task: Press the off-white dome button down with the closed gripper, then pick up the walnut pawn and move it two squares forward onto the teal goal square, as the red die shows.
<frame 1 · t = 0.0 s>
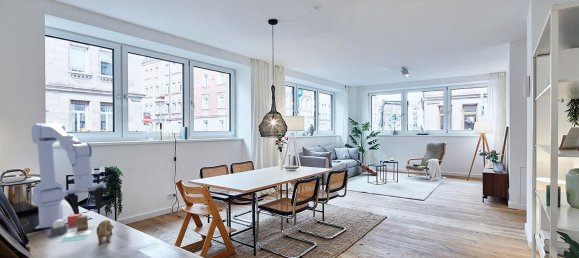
hand: (88, 211, 114), 11 cm above the kitchen counter, tool pointing down, fingers open, 7 cm apart
game track: (78, 233, 119), on the kitchen counter
dome cap: (58, 224, 120), point 4 cm above the kitchen counter, slide at 0.0 cm
lion figurine: (106, 241, 112), on the kitchen counter
dome housing: (59, 233, 120), on the kitchen counter
red die: (75, 224, 130), on the kitchen counter
walnut pawn: (82, 229, 124), resting on game track
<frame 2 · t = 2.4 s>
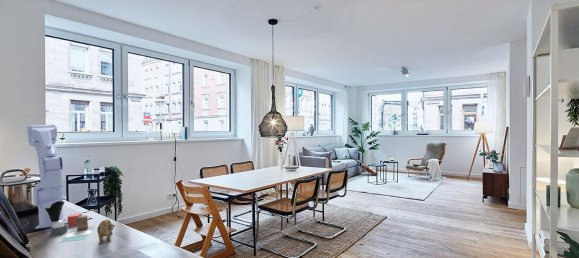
hand: (55, 221, 120), 5 cm above the kitchen counter, tool pointing down, fingers closed, pressing on dome cap
dome cap: (58, 225, 120), point 3 cm above the kitchen counter, slide at 0.4 cm, touching gripper
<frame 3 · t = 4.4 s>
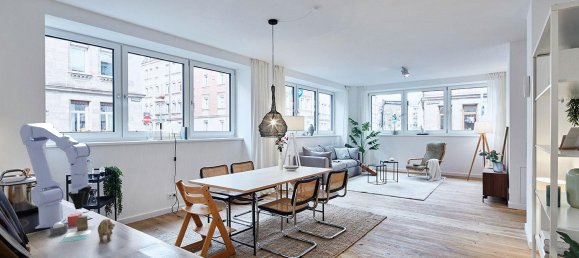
hand: (81, 206, 124), 9 cm above the kitchen counter, tool pointing down, fingers open, 6 cm apart
dome cap: (58, 226, 120), point 3 cm above the kitchen counter, slide at 1.1 cm
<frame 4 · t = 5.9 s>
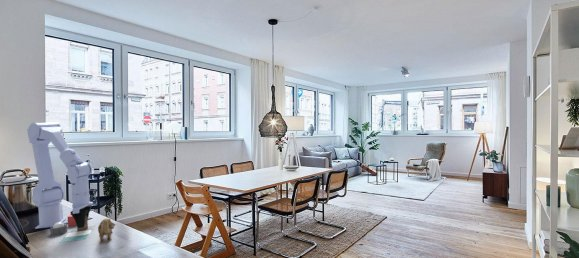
hand: (82, 225, 124), 2 cm above the kitchen counter, tool pointing down, fingers closed on walnut pawn, 4 cm apart
walnut pawn: (82, 229, 124), resting on game track, touching gripper
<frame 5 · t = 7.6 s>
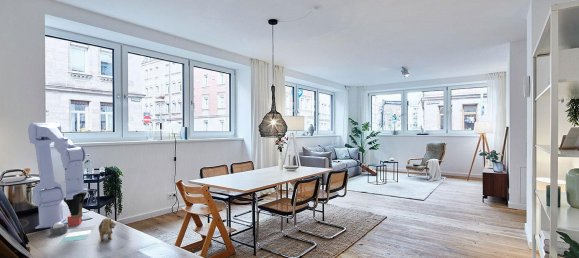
hand: (76, 213, 117), 9 cm above the kitchen counter, tool pointing down, fingers closed on walnut pawn, 4 cm apart
walnut pawn: (76, 216, 117), point 7 cm above the kitchen counter, touching gripper
when the fingers open (2 cm above the kitchen counter, at t = 9.3 s): walnut pawn drops 1 cm, resting on game track.
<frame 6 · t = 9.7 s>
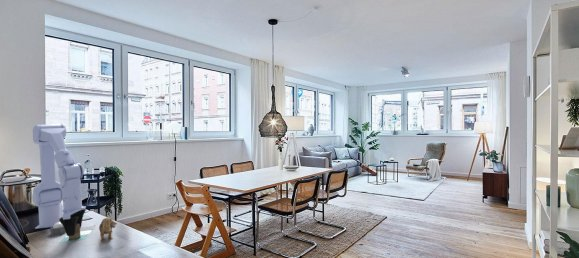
hand: (74, 232, 114), 2 cm above the kitchen counter, tool pointing down, fingers open, 7 cm apart
walnut pawn: (74, 238, 115), resting on game track
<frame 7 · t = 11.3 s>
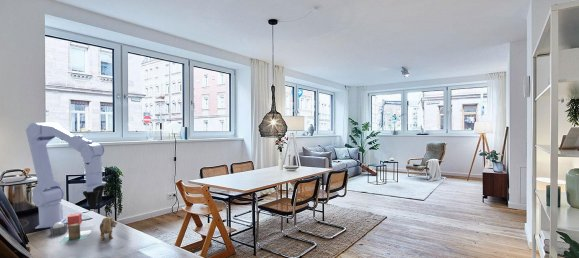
hand: (95, 205, 125), 9 cm above the kitchen counter, tool pointing down, fingers open, 7 cm apart
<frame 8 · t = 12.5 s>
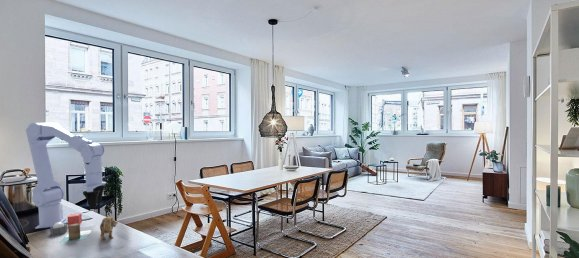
hand: (95, 205, 125), 9 cm above the kitchen counter, tool pointing down, fingers open, 7 cm apart
at the end: dome cap slide at 1.1 cm; walnut pawn 0.0 cm from the target spot, resting on game track; walnut pawn tilted 0° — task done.
